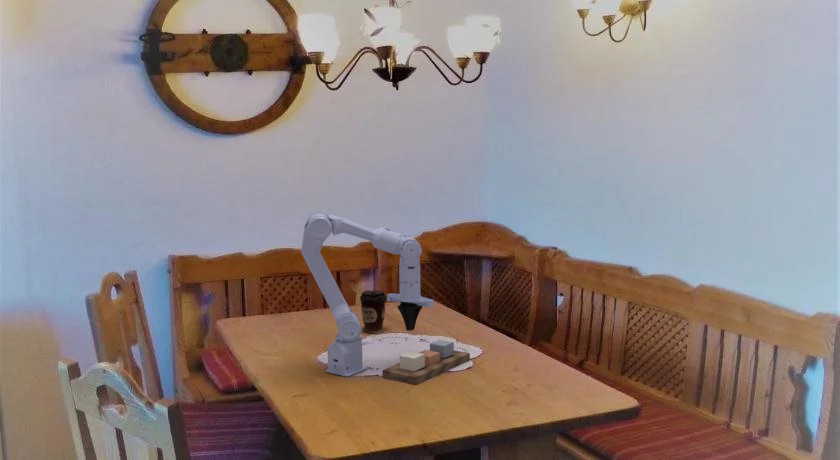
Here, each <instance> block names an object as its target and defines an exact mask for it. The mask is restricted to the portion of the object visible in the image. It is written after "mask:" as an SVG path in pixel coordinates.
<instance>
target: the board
mask: <svg viewBox="0 0 840 460" xmlns="http://www.w3.org/2000/svg"><path fill="white" fill-rule="evenodd" d="M470 356H471V353H469V352H465V351H460V350H454V354H453V355H451V356H448V357H446V358H440V362H438V363H436V364H434V365H431V366H428V365H425V367H423V368H421V369H419V370H416V371H410V370H406V369H401V368H400V362H398V363H396V364H394V365H391V366H389V367H386V368H383V369H382V372H381V373H382V377H381V378H383V377H384V379H387V380H392V379H393V381H396V380H397V382H401V383H405V384H409V385H410V384H411V385H415V386H417V385H418V384H421V383H423V382H425V381H428V380H430V379H432V378H434V377H437V376H439V375H440V374H443V373H445V372H447V371H450V370H451V369H454V368H456V367H458V366H461V365H462V364H464V362H465V363H467V362H468V361H470V360H471V357H470ZM466 361H467V362H466ZM455 366H456V367H455ZM453 367H454V368H453Z"/></svg>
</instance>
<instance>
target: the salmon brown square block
mask: <svg viewBox="0 0 840 460" xmlns="http://www.w3.org/2000/svg"><path fill="white" fill-rule="evenodd" d="M418 353H422V354H425V365H428V366H431V365H434V364H436V363H438V362H440V353H439V352H434V351H430V349H429V350H428V349H424V350H422V351H418Z"/></svg>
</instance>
